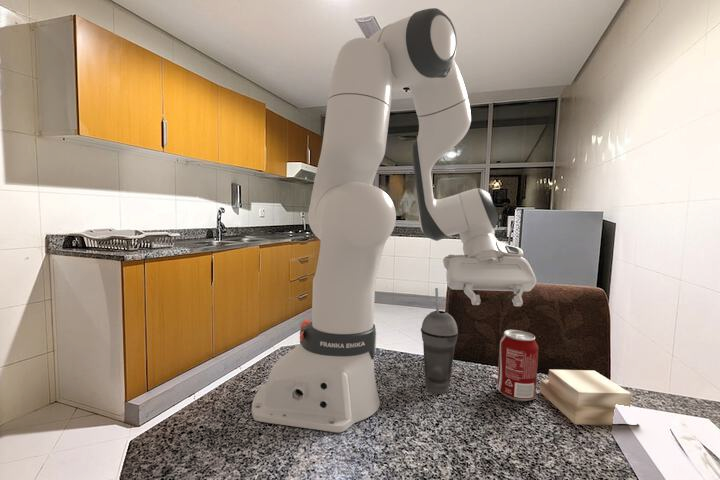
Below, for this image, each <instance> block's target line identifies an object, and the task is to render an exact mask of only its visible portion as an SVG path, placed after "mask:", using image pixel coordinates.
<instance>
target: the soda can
mask: <svg viewBox="0 0 720 480" xmlns="http://www.w3.org/2000/svg"><path fill="white" fill-rule="evenodd" d="M498 351H499V353H498V354H499V355H498V370H497V371H498V372H497V387H496V388H497V390H498V392H500V394H502V395H503V396H504V397H505V398H508V399H510V400H512V401H516V402H529V401H532V400H534V399H535V398H536V393H537V392H536V391H537V377H538V376H537V375H538V374H537V373H538V360H539V345H538V343H537V342H536V336H535V335H534V334H533V333H531V332H528V331H523V330H517V329H507V330H505V331H503V336H502V337H501V338H500V340H499V350H498Z"/></svg>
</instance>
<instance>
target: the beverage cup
mask: <svg viewBox="0 0 720 480" xmlns="http://www.w3.org/2000/svg"><path fill="white" fill-rule="evenodd" d="M434 292H435V310H433V311H431V312H429V313H428V314H427V315H426V316H425V317H424V319H423V320H422V323H421V328H420V332H421V340H422V342H423V343H422V345H423V346H422V347H423V348H422V349H423V365H424V366H423V368H424V370H423V371H424V382H425V384H424V385H425V389H426V390H427V392H430V393H432V394H438V395H439V394H442V395H443V394H446V393H448V392H449V387H450V383H451V375H452V370H453V362H454V355H455V348H456V344H457V340H458V335H459V332H458V331H459V330H458V325H457V322H456V320H455V319H454V317H453V316H452V315H451V314H450V313H448V312H446V311H444V310H440V307H439V306H440V305H439V303H440V302H439V288H438V287H435V289H434Z"/></svg>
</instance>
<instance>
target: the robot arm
mask: <svg viewBox="0 0 720 480" xmlns="http://www.w3.org/2000/svg"><path fill="white" fill-rule="evenodd" d="M457 44H458V40H457V33H456V29H455V26H454V23H453V21H452V20H451V18H450V17H449V16H448V15H447V14H446V13H444V12H443V11H442V10H441V9H439V8H436V7H433V8H432V7H431V8H424V9H421V10H418V11H416V12H414V13H413V14H412V15H410V16H407V17H404V18H402V19H400V20H397V21H395V22H392V23H389V24H388V25H386V26H384V27H382V28H381V29H379V30H377V31H376V32H374V33H373V34H372V35H371V36H367V37H355V38H352V39H350V40H348V41H347V42H345V43H344V44H343V45H342V47H341V48H340V50H339V52H338V54H337V58H336V60H335V64H334V67H333V70H332V73H331V74H332V75H331V79H330V84H329V89H328V95H327V97H328V98H327V104H326V113H325V120H324V129H323V138H322V144H321V150H320V155H319V156H320V157H319V160H318V164H317V168H316V172H315V176H314V182H313V187H312V191H311V197H310V203H309V207H308V213H307V221H308V225H309V228H310V229H311V232H312V233H313V235H314V236H315V237H316V238H317V239H318V240H319V241H320V244H319V245H320V246H319V252H318V259H317V262H316V263H317V265H316V269H315V274H314V277H313V278H312V279H313V280H312V300H311V305H312V306H311V320H310V319H309V318H308V319H306V318H305V319H304V320H303V321H302V322H301V323H300V330H299V344H298V345H297V346H295V347H294V348H292V349H290V351H289V350H288V352H287V353H285V354H283V356H281V357H280V358H278V360H277V361H276V362H275V363H274V364H273V366H272V368H271V369H270V371H269V374H268V377H267V380H266V382H265V383H263V384H262V386H261V387H260V388H259V389H258V390H257V392H256V393H255V395H254V397H253V400H252V403H251V410H250V411H251V412H250V413H251V415H252V418H253V420H254V421H256V422H260V423H262V422H263V423H268V424H273V425H281V426H290V427H297V428H304V429H311V430H317V431H324V432H330V433H342V432H345V431H347V430H348V429H349V428H351V426H352V425H354V424H355V423H358V422H360V421H364V420H366V419H367V418H369V417H371V416H373V415H374V414H375V413H376V412H377V411H378V409H379V407H380V405H381V401H380V400H381V399H380V396H379V393H378V388H377V381H376V374H375V365H374V363H375V361H374V359H375V355H376V349H377V347H376V346H377V331H376V330H377V329H376V325H375V323H374V320H375V319H374V318H375V317H374V316H375V297H376V295H375V292H376V282H377V276H378V275H377V274H378V271H379V268H380V263H381V260H382V256H383V252H384V248H385V244H386V243H387V240H388V239H389V238H390V236H391V235H392V233H393V231H394V229H395V226H396V219H397V212H396V207H395V205H394V204H395V203H394V202H393V200H392V199H391V197H390V195H388V193H386V192H385V191H384V190H383V189H381V188H380V187H378V186H375V185H373V184H374V181H375V177H376V174H377V172H378V170H379V167H380V165H381V163H382V162H383V160H384V157H385V154H386V147H387V140H388V139H387V138H388V131H389V124H390V123H389V122H390V113H391V105H392V95H393V94H392V91H393V90H397V89H401V88H409V90H410V91H411V96H412V102H413V104H414V105H413V107H414V109H415V112H416V113H415V114H416V115H417V119H418V120H417V121H418V135H417V137H416V139H414V141H413V142H412V146H411V157H412V158H411V159H412V163H413V164H412V165H413V173H414V174H413V175H414V180H415V181H414V183H415V188H416V196H417V201H418V202H417V203H418V224H419V228H420V230H421V233H422V234H423V236H425V237H426V238H428V239H431V240H433V241H437V242H438V241H440V240H443V239H447V238H449V237H451V236H454V235H458V234H459V235H458V236H459V238H460V242H461V243H462V251H463V254H448V255H447V256H445V257H444V258H443V260H442V262H443V266H444V268H445V269H446V284H447V286H448V288H449V289H451V290H457V291H459V290H460V291H461V290H463V293H464V294H465V295H466V297H468V298H469V299H470V302H471V305H472V306H480V304H481V302H482V301H481V297H480V294H476V293H475V292H474V291H501V292H504V291H505V292H513V295H514V296H513V298H512V299H511V302H512V303H513V307H522V306H523V305H524V304H523V303H524V300H523V298H522V296H523V293H524V292H530V291H532V290H533V288H535V286H536V284H537V277H536V275H535V272H534V269H533V268H532V267H531V264H530V263H529V261H528V260H527V259H526V258H525V257H523V255H524V251H523V249H521V248H520V247H516V246H513V245H509V244H506V243H504V242H501V241H499V240H498V238H497V237H496V235H495V234H496V233H495V227H496V226H497V224H498V220H499V213H498V211H497V208H496V205H495V204H494V202H493V198H492V195H491V193H490V192H487V191H486V190H484V189H482V188H480V187H477V188H472V189H470V190H469V189H468V190H466V191H462V192H459V193H457V194H454V195H450V196H447V197H444V198H440V199H436V198H435V196H434V195H435V194H434V189H433V181H432V179H433V178H432V170H433V168H434V165H435V164H436V163H437V161H439V160H440V159H441V158H442V157H443V156H444V155H446V154H447V153H448V152H450V151H451V150H452V149H453V148H454V147H456V146H457V145H458V144H459V143H460V142H461V141H462V140H463V139H464V137H465V136H466V135H467V133H468V131H469V129H470V126H471V125H472V124H471V123H472V114H471V106H470V105H471V104H470V100H469V97H468V93H467V89H466V86H465V83H464V79H463V77H462V75H461V71H460V69H459V67H458V64H457V63H456V60H455V58H456V53H457V47H458V45H457Z"/></svg>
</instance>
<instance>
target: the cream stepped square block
mask: <svg viewBox="0 0 720 480" xmlns="http://www.w3.org/2000/svg"><path fill="white" fill-rule="evenodd" d="M539 393H540V394H542V395H543V396H544V397H545V399H547V400H548V401H549V402H551V404H552V405H554V407H556V408H557V409H558V410H559V411H560V412H561V414H563V415H564V416H566V417H567V418H568V419H569V420H570V421H571V422H572V423H573V424H574V425H597V426H613V425H612V424H613V416H614V409H615V405H616V404H618V405H624V406H629V407H635V406H634V405H632V404H631V403H632V402H631V399H632V393H631V392H630V391H628V390H627V389H625V388H623V387H621V386H620V385H619V384H617V383H615V382H613V381H612V380H610V379H609V378H607V377H606V376H604V375H603V374H600V372H597V371H596V370H590V369H589V370H588V369H587V370H585V369H584V370H583V369H550V368H549V369H548V379H540V381H539Z"/></svg>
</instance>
